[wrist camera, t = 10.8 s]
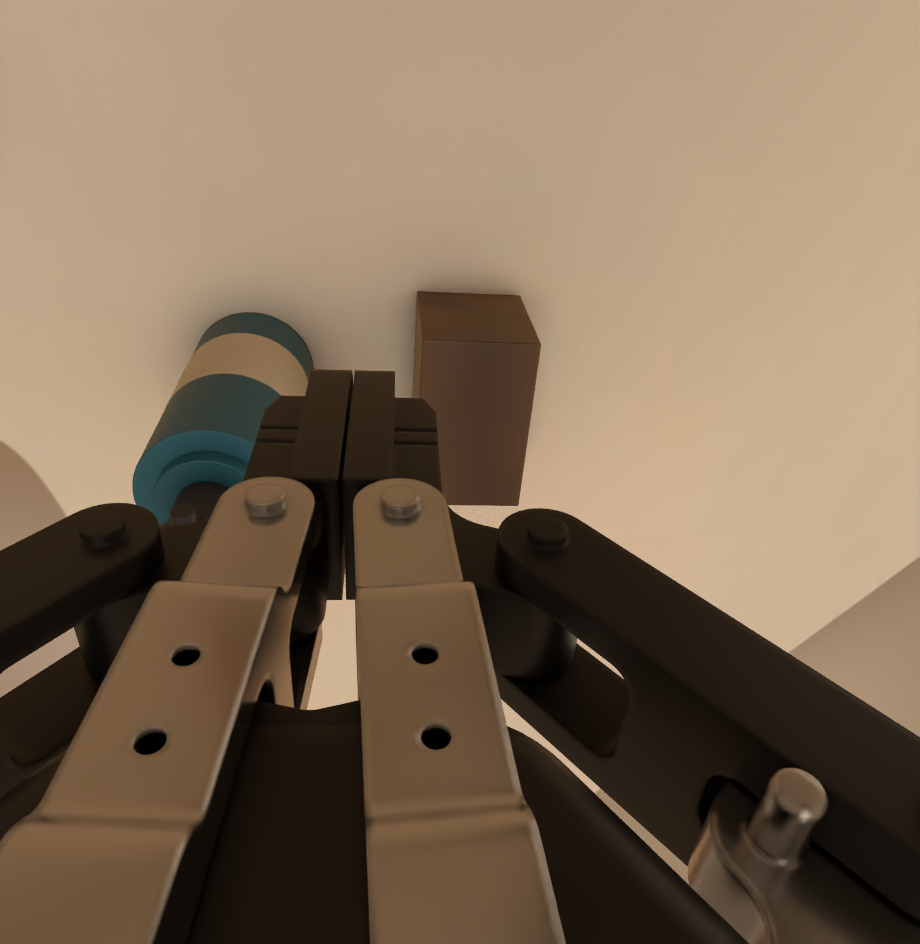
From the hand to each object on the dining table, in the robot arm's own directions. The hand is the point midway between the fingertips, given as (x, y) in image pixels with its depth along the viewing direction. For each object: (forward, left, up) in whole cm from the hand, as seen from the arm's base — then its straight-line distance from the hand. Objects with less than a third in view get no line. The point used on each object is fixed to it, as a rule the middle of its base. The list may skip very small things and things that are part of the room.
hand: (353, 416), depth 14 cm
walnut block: (+2, +14, -30) cm, 33 cm away
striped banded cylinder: (+8, +11, -28) cm, 31 cm away
